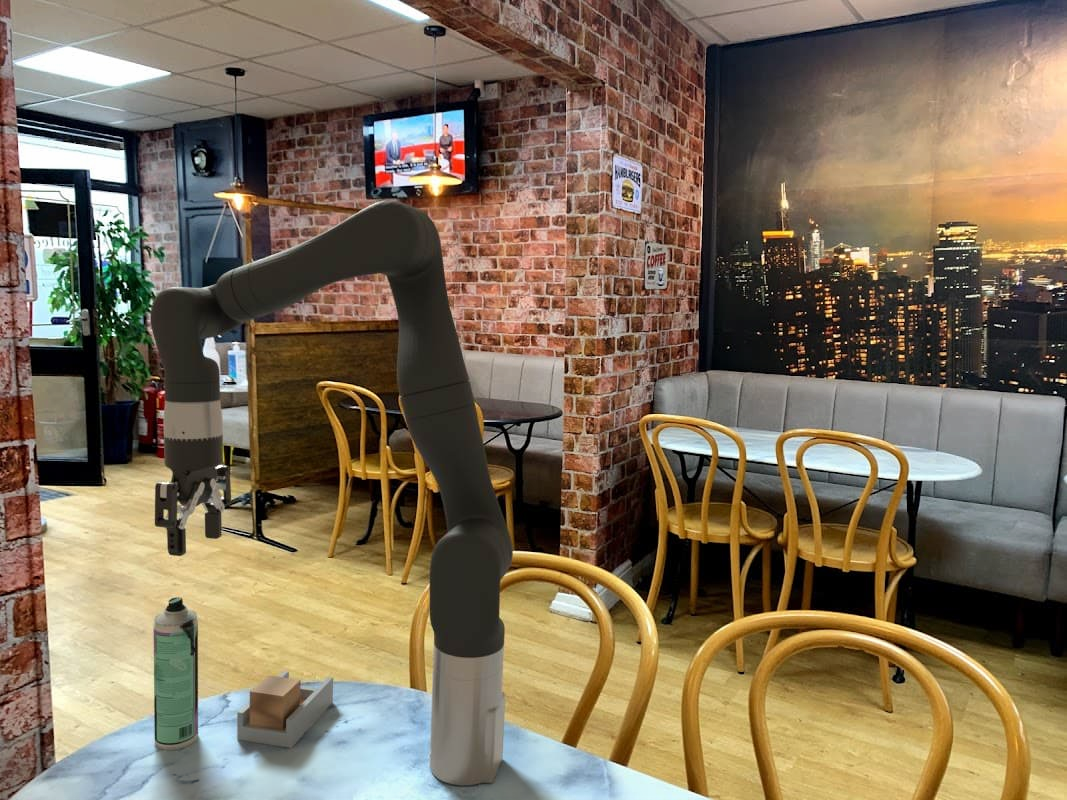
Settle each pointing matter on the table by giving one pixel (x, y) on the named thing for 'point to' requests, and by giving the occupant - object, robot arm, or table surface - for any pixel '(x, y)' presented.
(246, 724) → the channel
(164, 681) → the spray can
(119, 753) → the table surface
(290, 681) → the walnut block
